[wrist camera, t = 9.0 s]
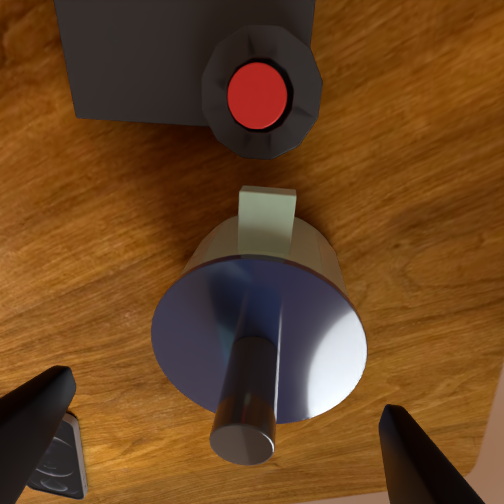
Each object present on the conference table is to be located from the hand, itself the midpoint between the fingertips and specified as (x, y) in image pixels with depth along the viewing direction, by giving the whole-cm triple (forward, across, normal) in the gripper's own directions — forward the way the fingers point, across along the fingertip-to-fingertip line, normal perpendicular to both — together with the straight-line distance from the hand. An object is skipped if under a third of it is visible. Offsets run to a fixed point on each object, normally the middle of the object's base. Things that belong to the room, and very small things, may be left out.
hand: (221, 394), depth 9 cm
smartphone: (+12, +22, +28) cm, 38 cm away
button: (+10, 0, -7) cm, 12 cm away
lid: (+6, -1, +4) cm, 7 cm away
